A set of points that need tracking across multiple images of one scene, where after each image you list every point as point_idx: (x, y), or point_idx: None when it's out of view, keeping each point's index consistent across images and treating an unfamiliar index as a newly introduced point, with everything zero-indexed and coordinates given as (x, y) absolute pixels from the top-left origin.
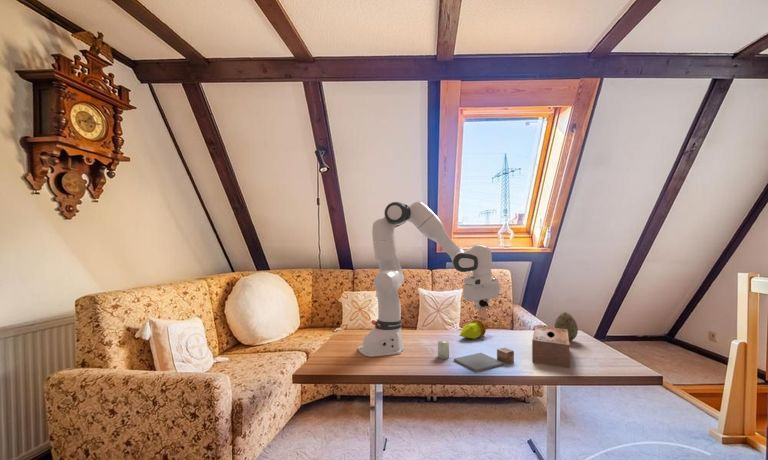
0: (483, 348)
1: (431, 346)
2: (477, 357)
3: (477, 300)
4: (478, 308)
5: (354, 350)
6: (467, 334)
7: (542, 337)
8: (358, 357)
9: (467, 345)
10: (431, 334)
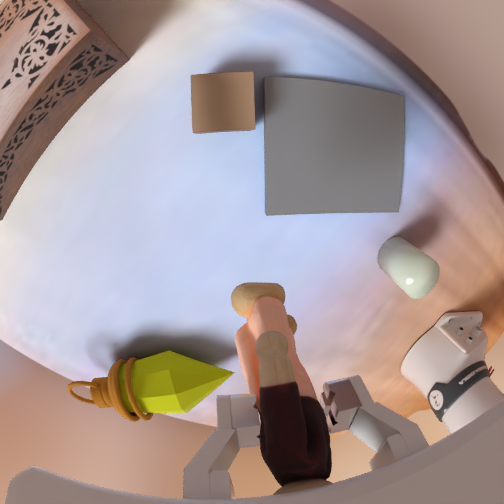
0: (197, 268)
1: (351, 343)
2: (322, 176)
3: (423, 444)
4: (361, 382)
5: None
6: (201, 369)
7: (17, 64)
8: (487, 315)
9: (235, 317)
10: None
